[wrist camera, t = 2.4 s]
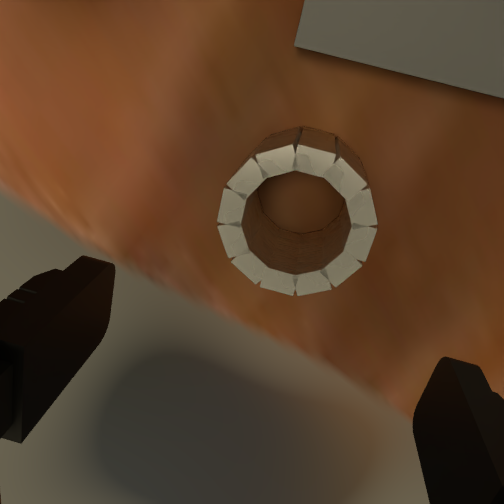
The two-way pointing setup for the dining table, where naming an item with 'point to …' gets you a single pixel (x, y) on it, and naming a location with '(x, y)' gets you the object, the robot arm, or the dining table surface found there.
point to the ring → (289, 243)
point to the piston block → (413, 38)
